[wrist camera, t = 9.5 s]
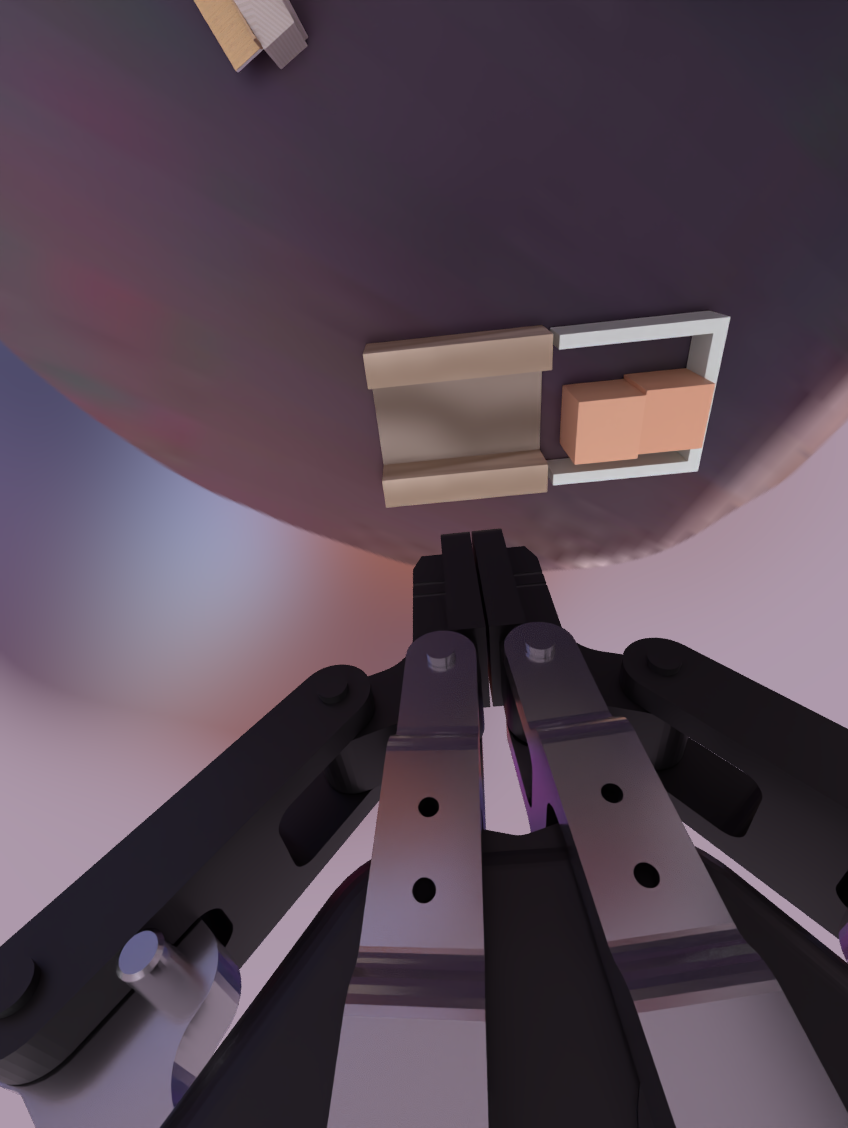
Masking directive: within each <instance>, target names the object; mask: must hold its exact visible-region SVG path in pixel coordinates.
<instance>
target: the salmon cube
mask: <svg viewBox="0 0 848 1128" xmlns="http://www.w3.org/2000/svg"><path fill="white" fill-rule="evenodd" d="M624 380H626V381H627V382H629V383H630V384H631V385H633V386H634V387H635V388H637V389H638V390H640V391H641V392H642V393H644V394H645V395H646V401H645V408H644V416H643V423H642V430H641V437H640V444H639V451H638V454H648V453H658V452H668V451H678V450H688V449H698V448H702V445H703V440H704V435H705V430H706V426H707V421H708V416H709V411H710V407H711V402H712V397H713V392H714V388H715V383H713V382H711V381H709V380H707V379H706V378H704V377H702V376H700V375H698V374H696V373H694V372H692V371H691V370H689V369H687V368H681V369H671V370H661V371H652V372H642V373H633V374H624Z"/></svg>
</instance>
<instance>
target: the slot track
mask: <svg viewBox="0 0 848 1128" xmlns="http://www.w3.org/2000/svg"><path fill="white" fill-rule="evenodd" d="M552 356H553V333H552V332H550V331H549V330H548V329H547V328H545V327H544V326H543V325H538V326H528V327H519V328H510V329H500V330H491V331H482V332H472V333H463V334H454V335H445V336H435V337H426V338H417V339H407V340H398V341H389V342H380V343H370V344H366V346H365V349H364V352H363V359H364V365H365V372H366V378H367V385H368V389H373V396H374V403H375V409H376V416H377V423H378V430H379V436H380V443H381V450H382V457H383V464H384V467H383V477H382V483H383V490H384V496H385V503H386V508H388V507H398V506H408V505H419V504H429V503H439V502H449V501H460V500H470V499H480V498H490V497H501V496H511V495H521V494H531V493H542V492H547V481H548V463H547V462H546V460H545V458H544V456H543V455H542V453H541V451H540V416H541V382H542V371H548V370H552Z"/></svg>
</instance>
